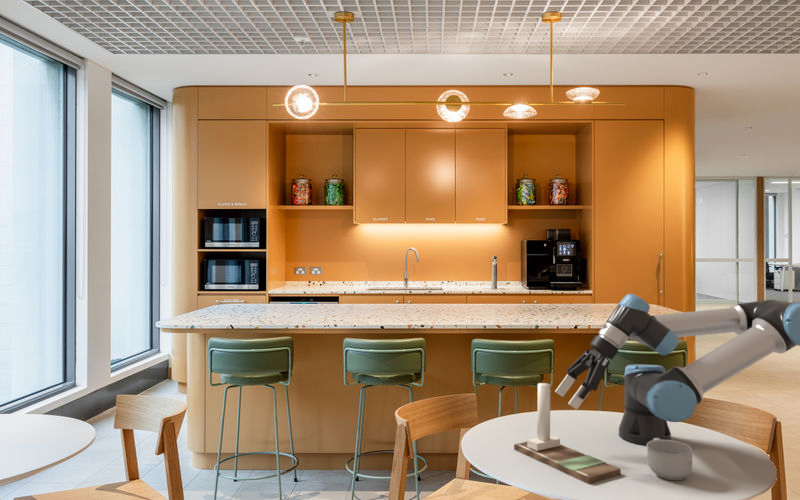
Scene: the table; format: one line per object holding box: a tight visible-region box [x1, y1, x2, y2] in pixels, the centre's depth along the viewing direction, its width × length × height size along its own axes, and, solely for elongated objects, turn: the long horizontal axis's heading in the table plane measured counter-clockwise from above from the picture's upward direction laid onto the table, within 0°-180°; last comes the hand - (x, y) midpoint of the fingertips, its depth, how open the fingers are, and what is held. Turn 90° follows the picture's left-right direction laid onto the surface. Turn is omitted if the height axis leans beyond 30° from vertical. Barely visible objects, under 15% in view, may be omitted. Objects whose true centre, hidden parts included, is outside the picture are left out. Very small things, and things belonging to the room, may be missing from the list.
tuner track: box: [513, 441, 622, 485], centre depth 156 cm, size 28×12×2 cm, turn 30°
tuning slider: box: [526, 382, 561, 451], centre depth 163 cm, size 4×9×18 cm, turn 120°
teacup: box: [645, 438, 693, 481], centre depth 148 cm, size 14×11×8 cm
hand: (565, 400), depth 163 cm, fingers open, 13 cm apart
